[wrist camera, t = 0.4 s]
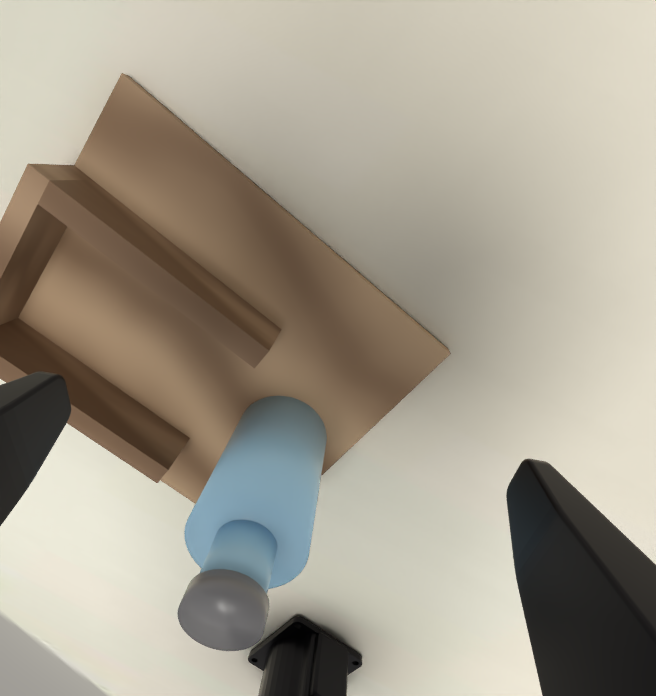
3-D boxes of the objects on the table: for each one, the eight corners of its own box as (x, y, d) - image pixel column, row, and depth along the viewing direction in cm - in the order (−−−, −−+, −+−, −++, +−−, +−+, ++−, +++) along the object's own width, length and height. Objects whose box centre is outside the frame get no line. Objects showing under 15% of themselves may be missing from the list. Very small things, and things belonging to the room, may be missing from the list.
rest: (254, 534, 29) (239, 580, 26) (-16, 352, 25) (-74, 379, 22) (448, 349, 23) (462, 379, 19) (129, 76, 19) (78, 55, 16)
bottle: (290, 486, 26) (239, 690, 16) (221, 437, 25) (119, 619, 15) (345, 433, 25) (328, 623, 14) (273, 378, 24) (198, 538, 13)
